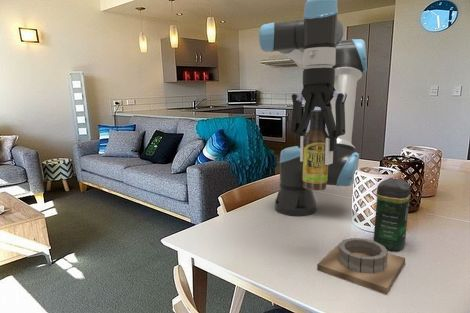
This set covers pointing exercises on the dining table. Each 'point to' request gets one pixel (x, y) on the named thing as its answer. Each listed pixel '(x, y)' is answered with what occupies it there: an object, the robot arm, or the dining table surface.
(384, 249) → the ring collar
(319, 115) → the sauce bottle
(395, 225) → the coffee jar
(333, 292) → the dining table surface
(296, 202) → the robot arm
